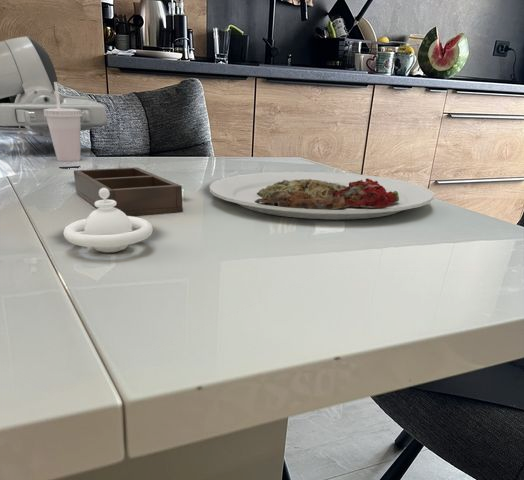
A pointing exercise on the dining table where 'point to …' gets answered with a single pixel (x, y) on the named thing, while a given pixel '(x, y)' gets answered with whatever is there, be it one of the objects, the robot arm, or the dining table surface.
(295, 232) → the dining table surface
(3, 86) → the robot arm
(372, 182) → the plated food
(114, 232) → the ring around a ball
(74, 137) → the smoothie
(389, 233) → the dining table surface
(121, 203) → the holder
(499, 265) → the dining table surface
